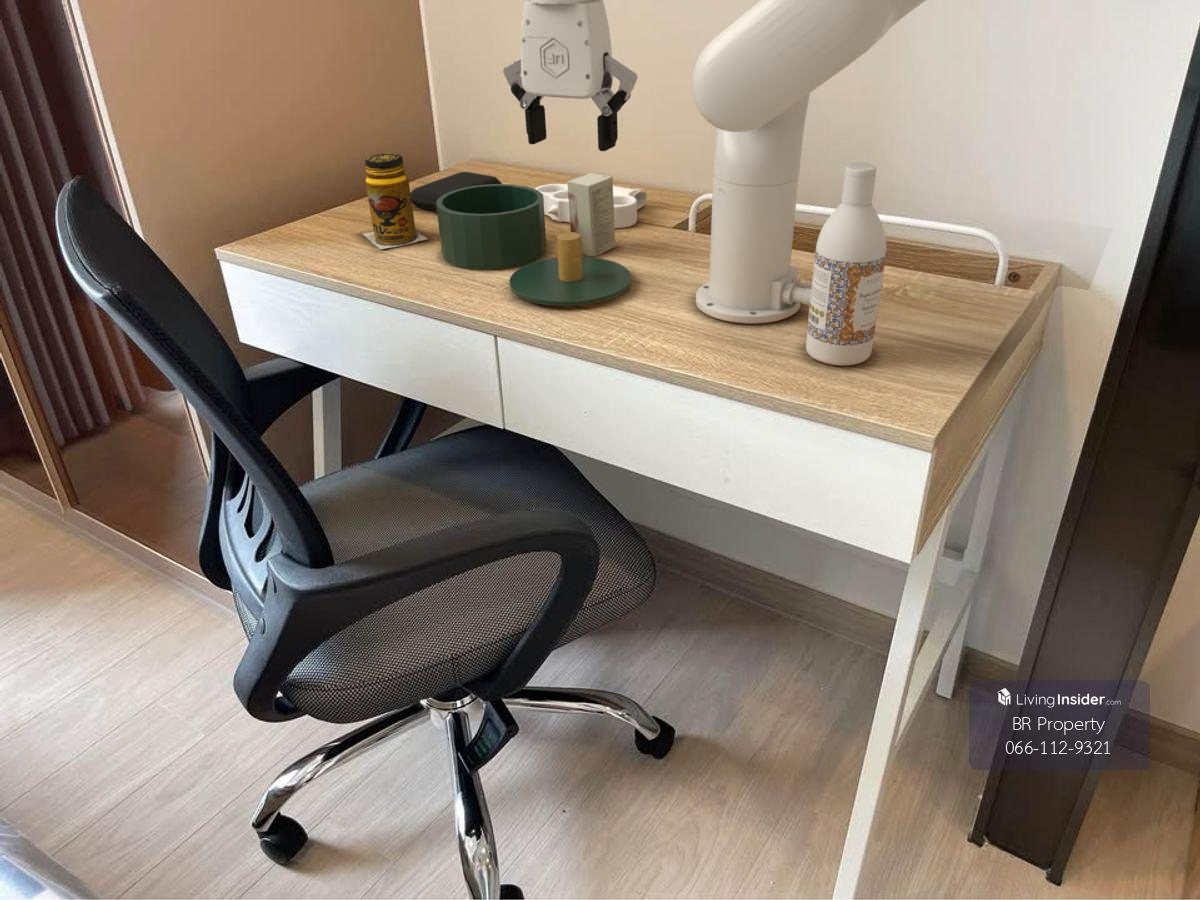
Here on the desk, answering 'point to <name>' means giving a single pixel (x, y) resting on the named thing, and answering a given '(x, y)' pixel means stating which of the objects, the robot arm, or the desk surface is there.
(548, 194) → the knuckle duster
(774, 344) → the desk surface
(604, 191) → the white cardboard carton
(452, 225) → the tin
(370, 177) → the condiment
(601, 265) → the tin lid
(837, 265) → the bath foam
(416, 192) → the carrying case
